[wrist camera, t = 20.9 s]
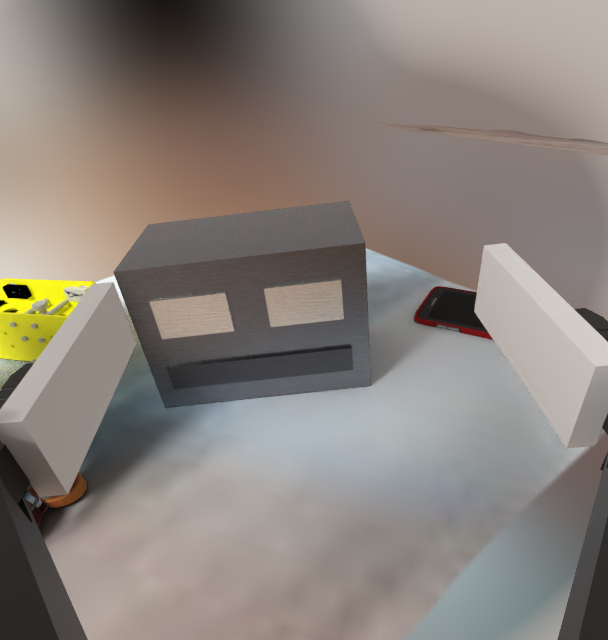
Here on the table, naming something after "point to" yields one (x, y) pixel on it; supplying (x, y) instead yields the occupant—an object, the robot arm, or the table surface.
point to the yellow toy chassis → (34, 314)
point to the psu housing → (251, 304)
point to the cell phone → (451, 311)
